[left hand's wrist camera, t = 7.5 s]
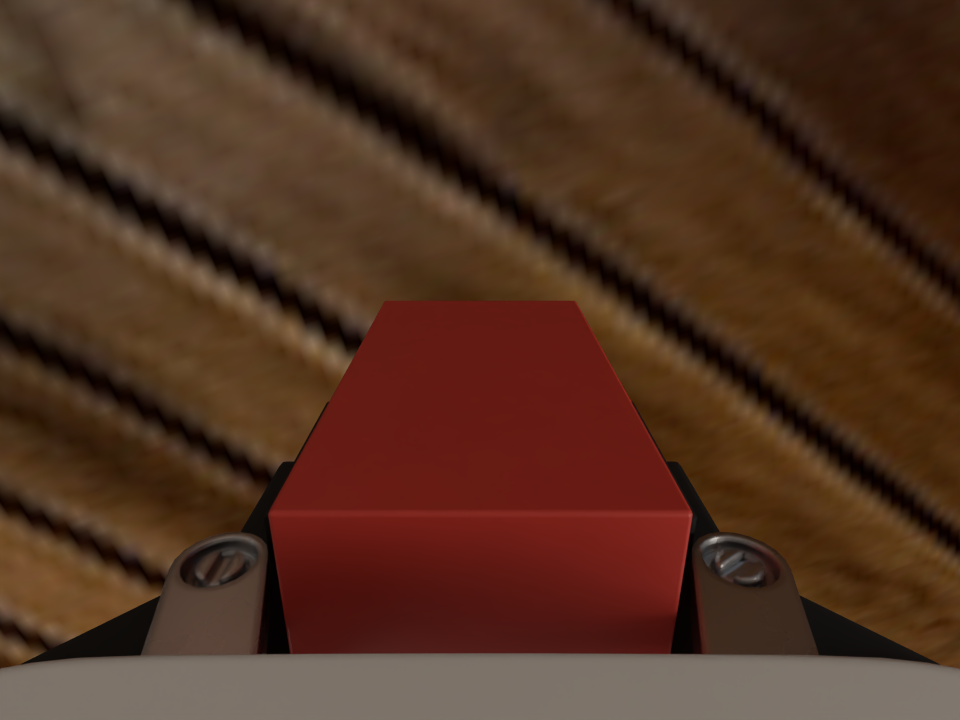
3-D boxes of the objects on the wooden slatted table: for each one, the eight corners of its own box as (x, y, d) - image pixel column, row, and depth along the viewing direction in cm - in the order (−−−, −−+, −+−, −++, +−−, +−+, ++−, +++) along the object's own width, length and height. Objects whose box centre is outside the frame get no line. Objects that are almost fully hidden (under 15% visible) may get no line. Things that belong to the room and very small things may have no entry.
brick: (564, 488, 16) (645, 829, 8) (395, 488, 16) (315, 829, 8) (576, 299, 14) (696, 512, 6) (384, 299, 14) (264, 512, 6)
